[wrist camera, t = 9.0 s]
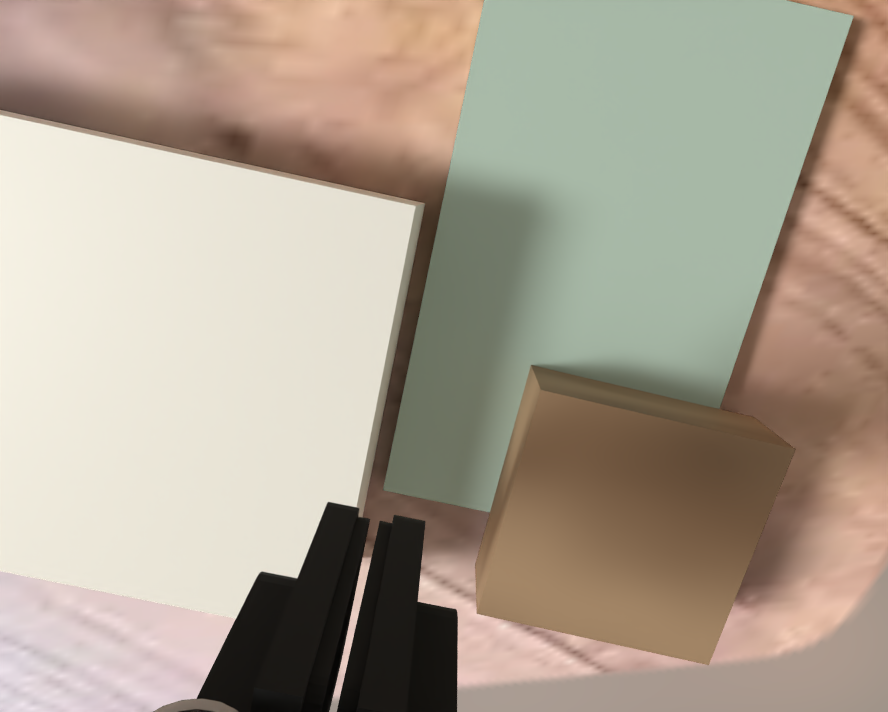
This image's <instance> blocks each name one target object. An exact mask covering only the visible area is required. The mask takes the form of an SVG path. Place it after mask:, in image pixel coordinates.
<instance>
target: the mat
mask: <svg viewBox="0 0 888 712" xmlns="http://www.w3.org/2000/svg"><path fill="white" fill-rule="evenodd" d="M853 17H854V16H852V15H847V14H843V13H839V12H834V11H830V10H826V9H821V8H817V7H813V6H808V5H804V4H800V3H795V2H791V1H787V0H484V4H483V9H482V14H481V18H480V23H479V28H478V33H477V38H476V43H475V47H474V52H473V57H472V62H471V67H470V72H469V76H468V81H467V86H466V91H465V96H464V101H463V105H462V110H461V115H460V120H459V125H458V130H457V134H456V139H455V144H454V149H453V154H452V159H451V164H450V168H449V173H448V178H447V183H446V188H445V193H444V197H443V202H442V207H441V212H440V217H439V222H438V226H437V231H436V236H435V241H434V246H433V251H432V255H431V260H430V265H429V270H428V275H427V280H426V284H425V289H424V294H423V299H422V304H421V309H420V313H419V318H418V323H417V328H416V333H415V338H414V342H413V347H412V352H411V357H410V362H409V367H408V371H407V376H406V381H405V386H404V391H403V396H402V400H401V405H400V410H399V415H398V420H397V425H396V430H395V434H394V439H393V444H392V449H391V454H390V459H389V463H388V468H387V473H386V478H385V483H384V488H383V490H384V491H389V492H394V493H398V494H403V495H408V496H413V497H418V498H422V499H427V500H432V501H437V502H442V503H446V504H451V505H456V506H461V507H466V508H470V509H475V510H480V511H485V512H490V510H491V506H492V503H493V499H494V496H495V492H496V489H497V485H498V481H499V478H500V474H501V471H502V467H503V463H504V460H505V456H506V453H507V449H508V446H509V442H510V438H511V435H512V431H513V428H514V424H515V420H516V417H517V413H518V410H519V406H520V403H521V399H522V395H523V392H524V388H525V385H526V381H527V377H528V374H529V370H530V367H531V365H533V366H538V367H542V368H546V369H550V370H555V371H559V372H563V373H568V374H572V375H576V376H580V377H585V378H589V379H593V380H597V381H602V382H606V383H610V384H614V385H619V386H623V387H627V388H632V389H636V390H640V391H644V392H649V393H653V394H657V395H661V396H666V397H670V398H674V399H679V400H683V401H687V402H691V403H696V404H700V405H704V406H708V407H713V408H717V409H720V406H721V403H722V400H723V397H724V394H725V391H726V388H727V385H728V382H729V379H730V376H731V374H732V371H733V368H734V365H735V362H736V359H737V356H738V353H739V350H740V347H741V344H742V341H743V338H744V335H745V333H746V330H747V327H748V324H749V321H750V318H751V315H752V312H753V309H754V306H755V303H756V300H757V297H758V295H759V292H760V289H761V286H762V283H763V280H764V277H765V274H766V271H767V268H768V265H769V262H770V259H771V257H772V254H773V251H774V248H775V245H776V242H777V239H778V236H779V233H780V230H781V227H782V224H783V221H784V218H785V216H786V213H787V210H788V207H789V204H790V201H791V198H792V195H793V192H794V189H795V186H796V183H797V180H798V178H799V175H800V172H801V169H802V166H803V163H804V160H805V157H806V154H807V151H808V148H809V145H810V142H811V140H812V137H813V134H814V131H815V128H816V125H817V122H818V119H819V116H820V113H821V110H822V107H823V104H824V102H825V99H826V96H827V93H828V90H829V87H830V84H831V81H832V78H833V75H834V72H835V69H836V66H837V63H838V61H839V58H840V55H841V52H842V49H843V46H844V43H845V40H846V37H847V34H848V31H849V28H850V25H851V23H852V20H853Z"/></svg>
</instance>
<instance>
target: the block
mask: <svg viewBox="0 0 888 712" xmlns="http://www.w3.org/2000/svg"><path fill="white" fill-rule="evenodd" d="M794 452H795V448H793V447H792V446H791V445H789V444H788V443H787V442H785V441H784V440H783V439H782V438H780V437H779V436H778V435H776V434H775V433H774V432H773V431H771V430H770V429H769V428H767V427H766V426H765V425H763V424H762V423H761V422H760V421H758V420H757V419H756V418H754V417H751V416H747V415H743V414H738V413H734V412H730V411H725V410H721V409H717V408H713V407H708V406H704V405H700V404H696V403H691V402H687V401H683V400H679V399H674V398H670V397H666V396H661V395H657V394H653V393H649V392H644V391H640V390H636V389H632V388H627V387H623V386H619V385H614V384H610V383H606V382H602V381H597V380H593V379H589V378H585V377H580V376H576V375H572V374H568V373H563V372H559V371H555V370H550V369H546V368H542V367H538V366H533V365H531V367H530V370H529V374H528V377H527V381H526V385H525V388H524V392H523V395H522V399H521V403H520V406H519V410H518V413H517V417H516V420H515V424H514V428H513V431H512V435H511V438H510V442H509V446H508V449H507V453H506V456H505V460H504V463H503V467H502V471H501V474H500V478H499V481H498V485H497V489H496V492H495V496H494V499H493V503H492V506H491V510H490V514H489V517H488V521H487V524H486V528H485V532H484V535H483V539H482V542H481V546H480V550H479V553H478V557H477V560H476V564H475V574H476V603H477V614H481V615H485V616H490V617H494V618H499V619H503V620H508V621H512V622H517V623H521V624H526V625H530V626H535V627H539V628H544V629H548V630H553V631H557V632H562V633H566V634H571V635H575V636H580V637H584V638H589V639H593V640H598V641H602V642H607V643H611V644H616V645H620V646H625V647H629V648H634V649H639V650H643V651H648V652H652V653H657V654H661V655H666V656H670V657H675V658H679V659H684V660H688V661H693V662H697V663H702V664H706V665H709V663H710V660H711V658H712V655H713V653H714V650H715V648H716V645H717V643H718V640H719V638H720V635H721V633H722V630H723V628H724V625H725V623H726V620H727V618H728V615H729V613H730V610H731V608H732V606H733V603H734V601H735V598H736V596H737V593H738V591H739V588H740V586H741V583H742V581H743V578H744V576H745V573H746V571H747V568H748V566H749V563H750V561H751V558H752V556H753V553H754V551H755V548H756V546H757V544H758V541H759V539H760V536H761V534H762V531H763V529H764V526H765V524H766V521H767V519H768V516H769V514H770V511H771V509H772V506H773V504H774V501H775V499H776V496H777V494H778V491H779V489H780V486H781V484H782V482H783V479H784V477H785V474H786V472H787V469H788V467H789V464H790V462H791V459H792V457H793V454H794Z"/></svg>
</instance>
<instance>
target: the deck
mask: <svg viewBox="0 0 888 712" xmlns="http://www.w3.org/2000/svg"><path fill="white" fill-rule="evenodd" d="M424 208H425V203H422V202H417V201H413V200H408V199H404V198H399V197H395V196H390V195H386V194H381V193H376V192H372V191H367V190H363V189H358V188H354V187H349V186H345V185H340V184H335V183H331V182H326V181H322V180H317V179H313V178H308V177H304V176H299V175H295V174H290V173H285V172H281V171H276V170H272V169H267V168H263V167H258V166H254V165H249V164H245V163H240V162H235V161H231V160H226V159H222V158H217V157H213V156H208V155H204V154H199V153H194V152H190V151H185V150H181V149H176V148H172V147H167V146H163V145H158V144H154V143H149V142H144V141H140V140H135V139H131V138H126V137H122V136H117V135H113V134H108V133H103V132H99V131H94V130H90V129H85V128H81V127H76V126H72V125H67V124H63V123H58V122H53V121H49V120H44V119H40V118H35V117H31V116H26V115H22V114H17V113H12V112H8V111H3V110H0V571H2V572H7V573H12V574H17V575H22V576H27V577H32V578H37V579H42V580H47V581H52V582H57V583H62V584H67V585H72V586H76V587H81V588H86V589H91V590H96V591H101V592H106V593H111V594H116V595H121V596H126V597H131V598H136V599H141V600H146V601H151V602H156V603H161V604H166V605H171V606H176V607H181V608H186V609H191V610H196V611H200V612H205V613H210V614H215V615H220V616H225V617H230V618H235V619H236V618H237V616H238V614H239V612H240V610H241V608H242V606H243V604H244V602H245V600H246V598H247V596H248V594H249V592H250V590H251V588H252V586H253V584H254V582H255V580H256V578H257V576H258V574H259V573H260V572H267V573H273V574H278V575H283V576H288V577H293V578H298V575H299V573H300V570H301V568H302V565H303V563H304V560H305V558H306V555H307V553H308V550H309V548H310V545H311V543H312V540H313V537H314V535H315V532H316V530H317V527H318V525H319V522H320V520H321V517H322V515H323V512H324V510H325V507H326V505H327V503H328V502H332V503H337V504H342V505H347V506H352V507H357V508H359V515H358V517H363V513H364V508H365V503H366V498H367V493H368V488H369V483H370V478H371V473H372V468H373V463H374V458H375V453H376V448H377V443H378V438H379V433H380V428H381V423H382V418H383V413H384V408H385V403H386V398H387V393H388V388H389V383H390V378H391V373H392V368H393V363H394V358H395V353H396V348H397V343H398V338H399V333H400V328H401V323H402V318H403V313H404V308H405V303H406V298H407V293H408V288H409V283H410V278H411V273H412V268H413V263H414V258H415V253H416V248H417V243H418V238H419V233H420V228H421V223H422V218H423V213H424Z"/></svg>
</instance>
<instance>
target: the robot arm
mask: <svg viewBox="0 0 888 712" xmlns="http://www.w3.org/2000/svg"><path fill="white" fill-rule="evenodd" d="M358 515H359V508H357V507H352V506H347V505H342V504H337V503H332V502H328V503H327V505H326V507H325V510H324V512H323V515H322V517H321V520H320V522H319V525H318V527H317V530H316V532H315V535H314V537H313V540H312V543H311V545H310V548H309V550H308V553H307V555H306V558H305V560H304V563H303V565H302V568H301V570H300V573H299V575H298V578H293V577H288V576H283V575H278V574H273V573H267V572H260V573H259V574H258V576H257V578H256V580H255V582H254V584H253V586H252V588H251V590H250V592H249V594H248V596H247V598H246V600H245V602H244V604H243V606H242V608H241V610H240V612H239V614H238V616H237V618H236V620H235V622H234V624H233V626H232V628H231V630H230V632H229V634H228V636H227V638H226V640H225V642H224V644H223V646H222V648H221V650H220V652H219V654H218V656H217V658H216V660H215V662H214V664H213V666H212V668H211V670H210V672H209V675H208V677H207V679H206V681H205V683H204V685H203V687H202V689H201V691H200V693H199V695H198V697H197V699H190V700H181V701H178V702H175V703H171V704H168V705H165V706H162V707H161V708H159V709H157V710H155V711H154V712H329V710H330V706H331V702H332V698H333V693H334V689H335V685H336V681H337V677H338V673H339V668H340V664H341V660H342V655H343V650H344V646H345V641H346V636H347V631H348V626H349V621H350V616H351V611H352V606H353V601H354V596H355V591H356V586H357V581H358V576H359V571H360V566H361V562H362V557H363V552H364V547H365V542H366V537H367V532H368V527H369V522H370V519H368V518H363V517H358ZM424 530H425V521H422V520H417V519H412V518H407V517H402V516H397V515H394V518H393V522H392V523H388V522H383V521H380V523H379V528H378V532H377V536H376V541H375V545H374V550H373V554H372V558H371V563H370V567H369V572H368V576H367V580H366V585H365V589H364V594H363V598H362V603H361V607H360V611H359V616H358V620H357V625H356V629H355V633H354V638H353V642H352V647H351V651H350V655H349V660H348V664H347V669H346V673H345V678H344V682H343V686H342V691H341V696H340V700H339V705H338V709H337V712H457V636H458V617H457V610H456V609H451V608H446V607H441V606H436V605H431V604H426V603H421V602H417V601H418V591H419V581H420V570H421V560H422V550H423V540H424Z"/></svg>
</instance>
